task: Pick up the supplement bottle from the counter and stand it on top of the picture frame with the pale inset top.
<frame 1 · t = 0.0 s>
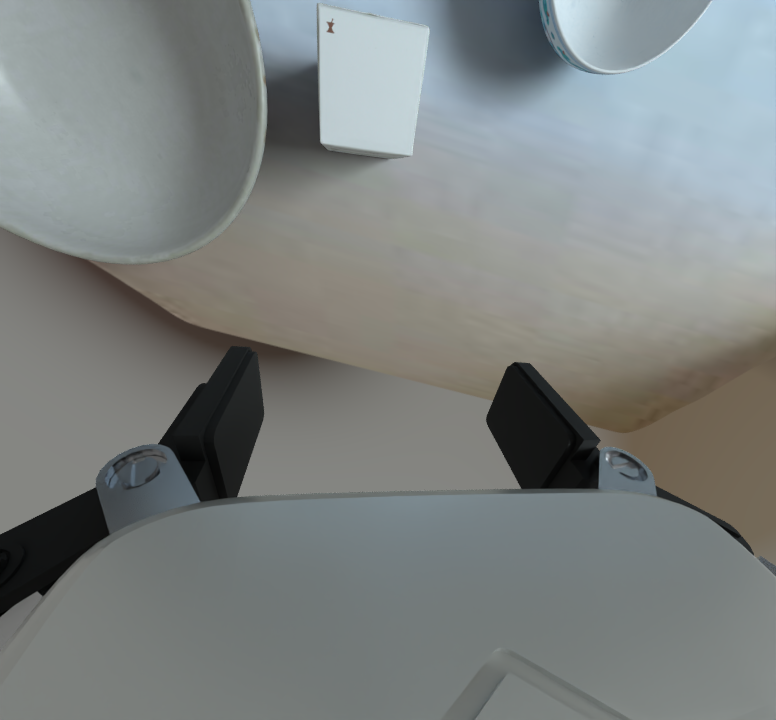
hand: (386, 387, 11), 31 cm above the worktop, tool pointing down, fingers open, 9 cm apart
decorative bowl: (147, 87, 28), on the worktop
supplement box: (362, 114, 31), on the worktop
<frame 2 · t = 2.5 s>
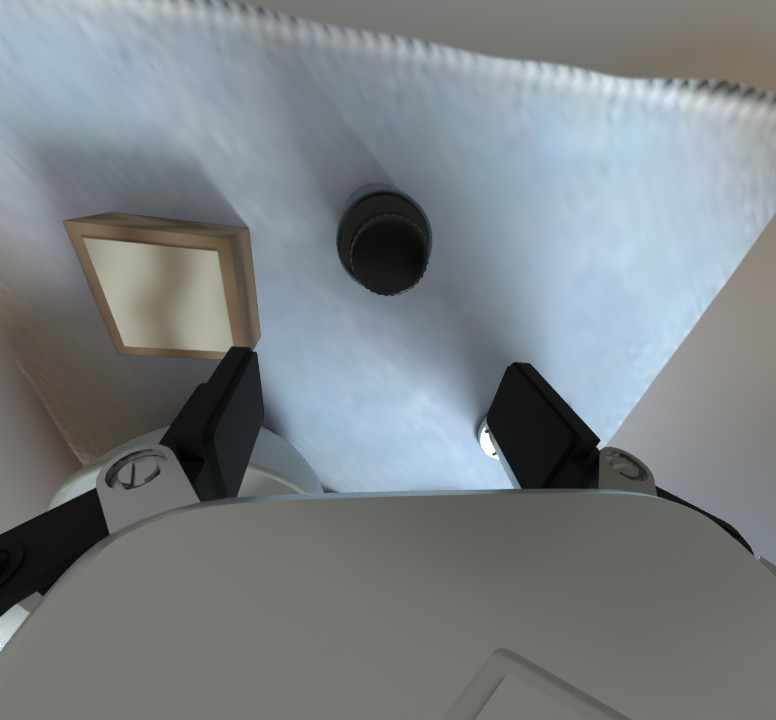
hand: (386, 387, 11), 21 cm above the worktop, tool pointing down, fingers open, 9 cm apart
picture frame: (195, 282, 29), on the worktop
decorative bowl: (240, 450, 42), on the worktop
supplement bottle: (377, 225, 28), on the worktop
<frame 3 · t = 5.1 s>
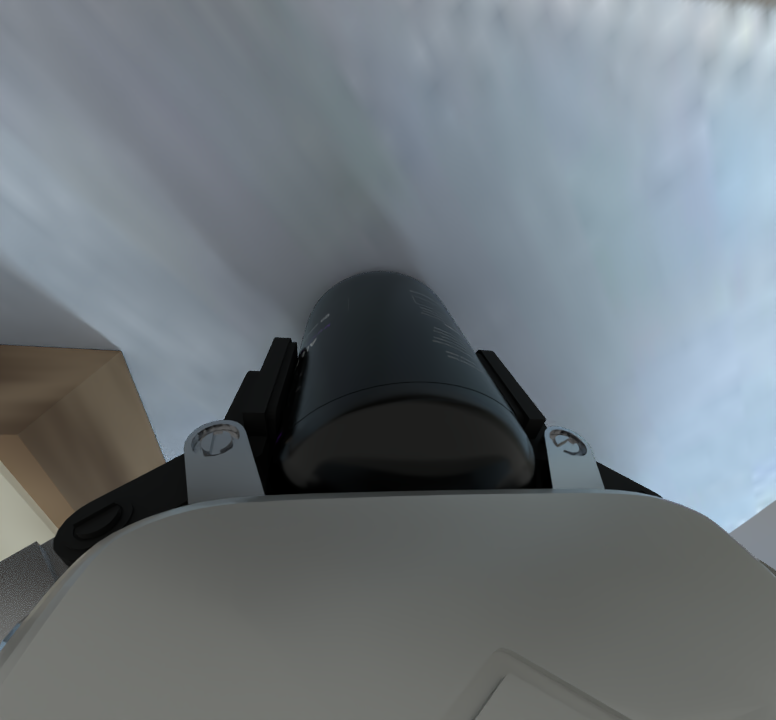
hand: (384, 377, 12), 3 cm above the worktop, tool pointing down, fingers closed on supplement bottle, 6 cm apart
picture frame: (37, 435, 15), on the worktop
supplement bottle: (377, 336, 15), on the worktop, touching gripper
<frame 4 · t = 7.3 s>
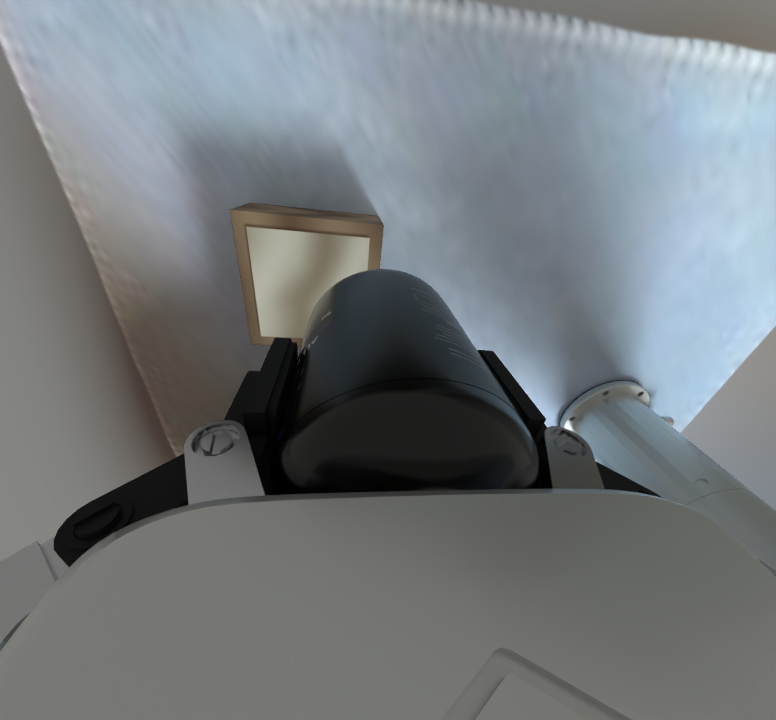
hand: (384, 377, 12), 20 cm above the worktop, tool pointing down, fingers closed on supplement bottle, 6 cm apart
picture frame: (317, 272, 29), on the worktop
supplement bottle: (379, 334, 15), point 17 cm above the worktop, touching gripper
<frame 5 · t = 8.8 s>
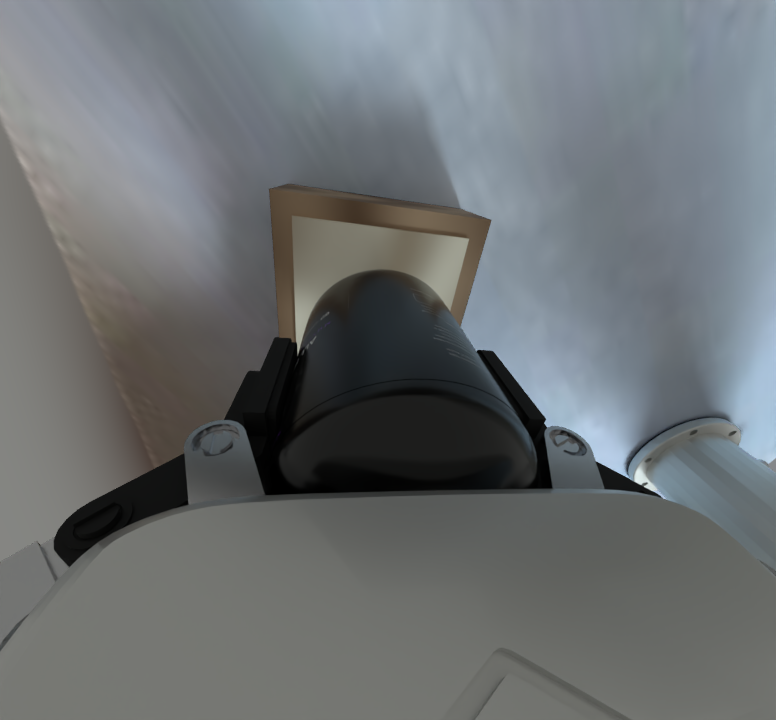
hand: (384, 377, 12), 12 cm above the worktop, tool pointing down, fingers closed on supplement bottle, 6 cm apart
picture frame: (370, 282, 22), on the worktop
supplement bottle: (378, 334, 15), point 8 cm above the worktop, touching gripper
when the fingers open (9 cm above the worktop, at t = 9.7 s): supplement bottle drops 1 cm, resting on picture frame.
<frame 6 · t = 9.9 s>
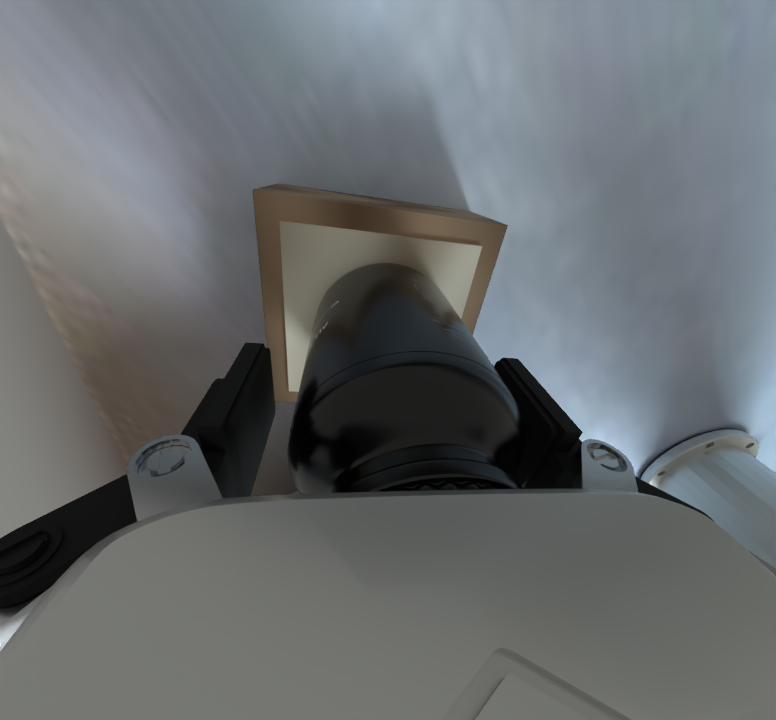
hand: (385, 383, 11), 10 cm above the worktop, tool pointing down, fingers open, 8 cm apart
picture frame: (369, 291, 20), on the worktop
supplement bottle: (381, 324, 16), point 5 cm above the worktop, touching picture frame
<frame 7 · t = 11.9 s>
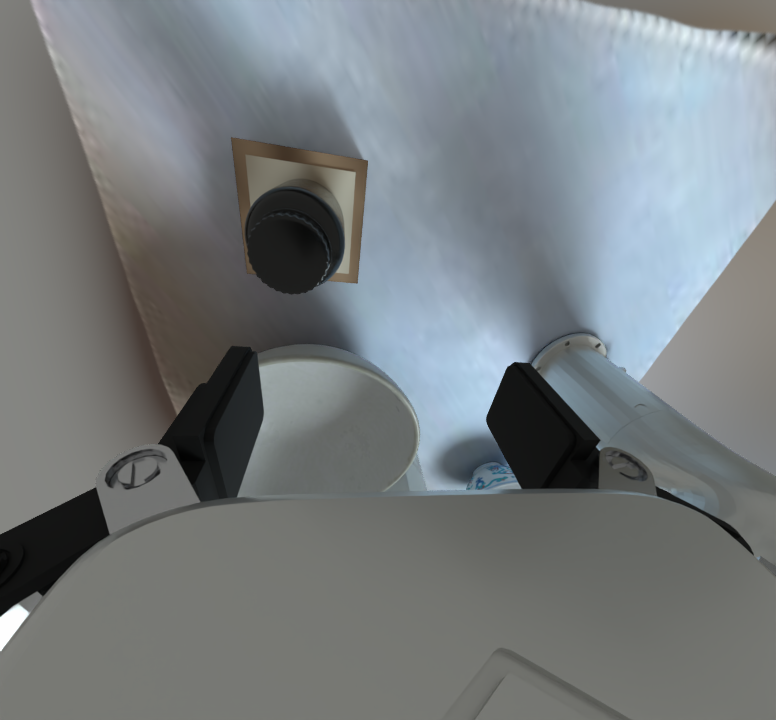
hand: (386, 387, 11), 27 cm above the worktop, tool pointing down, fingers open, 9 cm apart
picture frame: (308, 213, 32), on the worktop
chinaware: (487, 471, 64), on the worktop
decorative bowl: (315, 387, 45), on the worktop
supplement box: (391, 451, 56), on the worktop
supplement bottle: (307, 221, 28), point 5 cm above the worktop, touching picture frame
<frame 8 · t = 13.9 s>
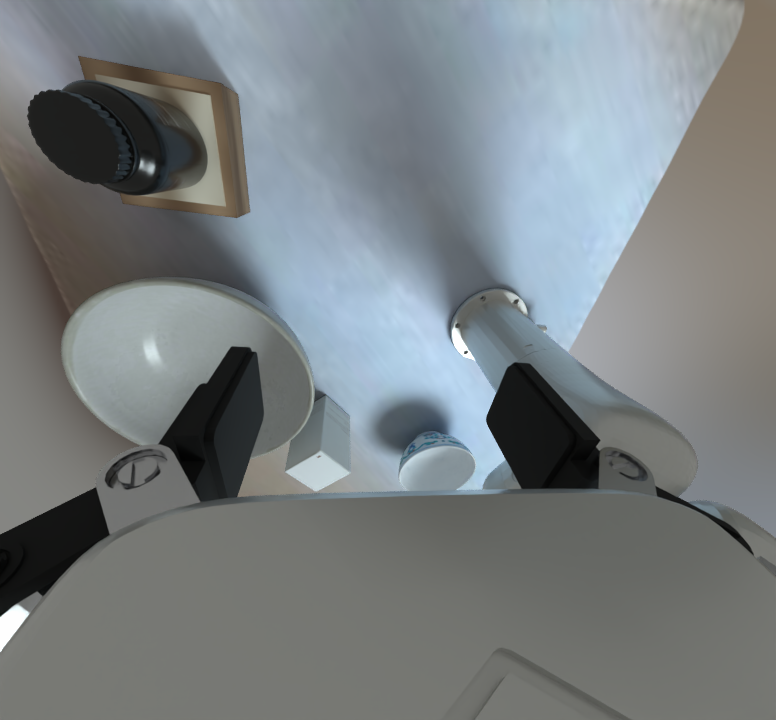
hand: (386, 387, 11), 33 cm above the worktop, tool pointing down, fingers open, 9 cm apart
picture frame: (191, 150, 33), on the worktop
chinaware: (428, 441, 63), on the worktop
decorative bowl: (232, 340, 46), on the worktop
supplement box: (323, 414, 56), on the worktop
supplement bottle: (172, 147, 28), point 5 cm above the worktop, touching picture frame
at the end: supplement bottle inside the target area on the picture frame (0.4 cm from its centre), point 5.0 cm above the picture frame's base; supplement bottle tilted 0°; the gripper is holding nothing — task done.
